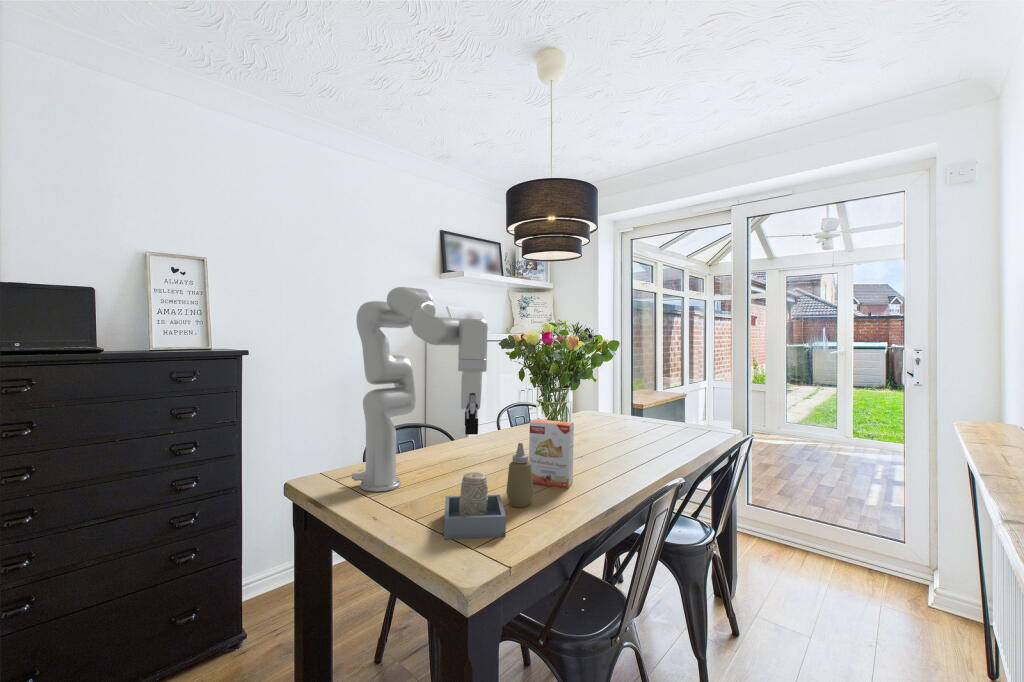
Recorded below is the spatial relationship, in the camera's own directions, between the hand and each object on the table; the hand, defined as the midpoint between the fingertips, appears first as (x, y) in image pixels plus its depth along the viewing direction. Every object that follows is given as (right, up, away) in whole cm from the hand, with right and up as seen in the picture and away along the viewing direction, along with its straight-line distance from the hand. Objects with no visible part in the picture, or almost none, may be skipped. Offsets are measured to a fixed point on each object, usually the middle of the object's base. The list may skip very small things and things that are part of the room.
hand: (471, 429), depth 117 cm
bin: (+1, -24, -2) cm, 25 cm away
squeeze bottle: (+13, -25, +13) cm, 31 cm away
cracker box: (+24, -25, +31) cm, 47 cm away
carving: (+1, -24, -1) cm, 24 cm away
